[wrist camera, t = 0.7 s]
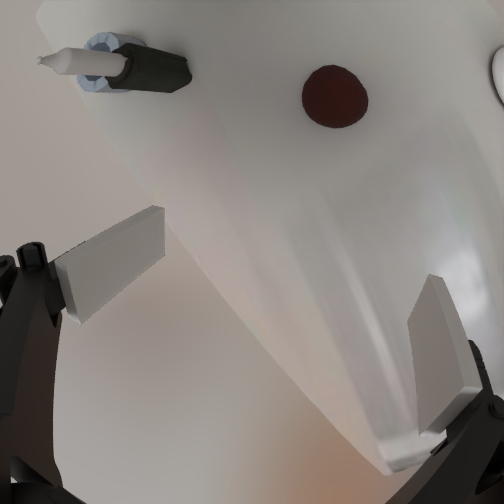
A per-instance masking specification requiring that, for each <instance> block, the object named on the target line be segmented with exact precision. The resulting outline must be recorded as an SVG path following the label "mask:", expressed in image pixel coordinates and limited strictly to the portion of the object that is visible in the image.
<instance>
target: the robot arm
mask: <svg viewBox="0 0 504 504" xmlns="http://www.w3.org/2000/svg"><path fill="white" fill-rule="evenodd" d="M164 214H165V208H162V207H158V206H153V205H152V206H150V207H148V208H147V209H144V210H143V211H141V212H139V213H137V214H135V215H133V216H131V217H129V218H127V219H125V220H123V221H122V222H120V223H118V224H116V225H114V226H112V227H111V228H109V229H107V230H105V231H103V232H102V233H100V234H98V235H96V236H94V237H93V238H91V239H89V240H87V241H84V242H83V243H81V244H79V245H78V246H77V247H74V248H72V249H71V250H70V251H67V252H66V253H64V254H62V255H61V256H59V257H57V258H56V259H54V260H53V261H51V262H49V263H48V261H47V257H46V252H45V247H44V245H43V244H42V243H40V242H31V243H27V244H25V245H23V246H21V247H20V248H18V249H17V251H16V252H17V256H18V260H19V264H20V267H16V264H15V260H14V258H13V257H12V256H10V255H6V256H5V255H3V256H0V299H1V302H2V304H3V305H2V307H1V308H0V504H86V503H85V502H83V501H81V500H80V499H78V498H77V497H76V496H74V495H73V494H71V493H70V492H68V491H67V490H66V489H64V488H63V484H62V479H61V475H60V472H59V470H58V468H57V466H56V464H55V460H54V454H53V399H54V383H55V370H56V360H57V352H58V344H59V336H60V330H61V323H62V313H61V310H62V309H63V308H65V307H66V309H67V312H68V316H69V318H70V319H72V320H74V321H75V322H77V323H79V324H80V325H82V324H83V323H84V322H85V321H86V320H87V319H88V318H90V317H91V316H92V315H93V314H94V313H95V312H96V311H98V310H99V309H100V308H101V307H102V306H104V305H105V304H106V303H107V302H108V301H110V300H111V299H112V298H113V297H114V296H116V295H117V294H118V293H119V292H120V291H122V290H123V289H124V288H125V287H126V286H127V285H129V284H130V283H131V282H132V281H134V280H135V279H136V278H137V277H139V276H140V275H141V274H142V273H144V272H145V271H146V270H147V269H149V268H150V267H151V266H152V265H154V264H155V263H156V262H157V261H158V260H160V259H161V258H162V257H164V256H165V234H164V233H165V229H164V228H165V227H164ZM407 323H408V329H409V336H410V342H411V349H412V356H413V364H414V373H415V383H416V394H417V407H418V427H419V436H424V437H437V436H438V435H439V434H441V433H442V432H443V431H444V430H445V429H446V433H447V437H446V438H445V439H444V440H443V441H442V442H441V443H440V444H439V445H438V446H436V447H435V448H434V449H433V450H432V451H431V452H430V453H431V456H430V457H429V458H428V459H427V460H426V462H425V463H424V464H423V465H422V466H421V467H420V468H419V470H418V471H417V472H416V473H415V474H414V475H413V476H412V477H411V478H410V480H409V481H408V482H407V483H406V484H405V485H404V486H403V487H402V488H401V489H400V490H399V491H398V492H397V493H396V494H395V495H394V496H393V497H392V498H391V499H390V500H388V501H387V502H386V503H385V504H504V400H503V399H502V398H500V397H499V396H497V395H494V394H493V391H492V387H491V384H490V381H489V377H488V374H487V371H486V369H485V365H484V362H483V361H482V360H483V359H482V356H481V353H480V350H479V349H478V347H477V346H476V345H475V343H474V342H473V341H472V340H468V339H467V336H466V333H465V331H464V328H463V325H462V323H461V320H460V318H459V315H458V312H457V310H456V308H455V305H454V303H453V300H452V298H451V296H450V293H449V291H448V289H447V287H446V284H445V282H444V280H443V278H442V277H438V276H435V275H431V274H429V275H428V277H427V279H426V282H425V284H424V286H423V289H422V291H421V293H420V295H419V298H418V300H417V302H416V304H415V306H414V308H413V310H412V312H411V314H410V317H409V319H408V321H407ZM11 477H12V478H14V479H15V480H16V481H17V483H11Z"/></svg>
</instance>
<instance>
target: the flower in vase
mask: <svg viewBox="0 0 504 504" xmlns="http://www.w3.org/2000/svg"><path fill="white" fill-rule="evenodd" d="M492 72H493V79H494V83H495V86H496V89H497V92H498V94H499V96H500V98H501V100H502V101H503V103H504V47H502V48H500V49H499V50H498V51H497V52H496V54H495V56H494V59H493V64H492Z"/></svg>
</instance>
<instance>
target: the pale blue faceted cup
mask: <svg viewBox="0 0 504 504" xmlns="http://www.w3.org/2000/svg"><path fill="white" fill-rule="evenodd" d="M125 43H133V44H138V45H142V46H146V45H145V44H144V43H143V42H142V41H140V40H137V39H135V38H133V37H129V36H125V35H121V34H116V33H112V32H103V33H98V34H97V35H95V36H94V37H92V38H91V39H90V40H89V41H88V42H87V43H86V45H85V46H84V48H83V49H87V50H96V51H103V52H110V53H111V52H112V51H113V50H114V49H116V48H119V47H121V46H122V45H123V44H125ZM146 47H147V46H146ZM77 80H78V83H79V85H80V86H81V87H82V89H83V90H84V91H88V92H115V93H120V92H127V91H130V90H122V89H111V88H110V87H109V85H108V81H107V80H106V79H105V77H104V76H97V75H77Z"/></svg>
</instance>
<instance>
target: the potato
mask: <svg viewBox="0 0 504 504" xmlns="http://www.w3.org/2000/svg"><path fill="white" fill-rule="evenodd" d="M302 102H303V107H304V109H305V112H306V113H307V115H308V116H309V117H310V118H311V119H312V120H313V121H315V122H316V123H318V124H320V125H323V126H325V127H330V128H343V127H347V126H350V125H352V124H354V123H356V122H357V121H359V120H360V119H361V118H362V117H363V116H364V114H365V113H366V111H367V107H368V96H367V92H366V90H365V88H364V87H363V85H362V84H361V82H360V81H359V80H358V78H357V77H356V76H355V75H354V74H352V73H351V72H349V71H348V70H347V69H345V68H342V67H339V66H336V65H329V66H323V67H321V68H319V69H318V70H316V71H314V72H313V73H312V74H311V76H310V77H309V78H308V80H307V81H306V82H305V84H304V88H303V92H302Z"/></svg>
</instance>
